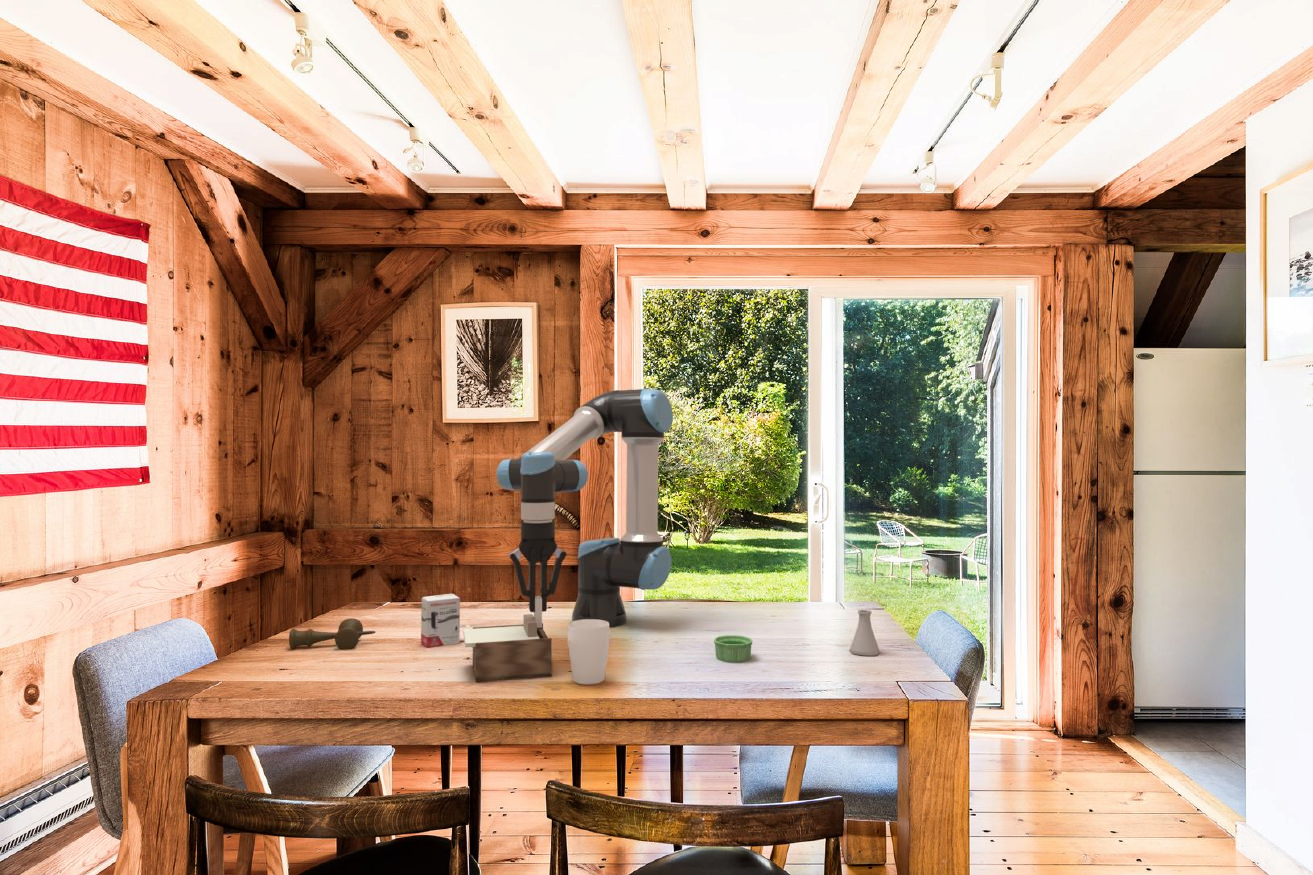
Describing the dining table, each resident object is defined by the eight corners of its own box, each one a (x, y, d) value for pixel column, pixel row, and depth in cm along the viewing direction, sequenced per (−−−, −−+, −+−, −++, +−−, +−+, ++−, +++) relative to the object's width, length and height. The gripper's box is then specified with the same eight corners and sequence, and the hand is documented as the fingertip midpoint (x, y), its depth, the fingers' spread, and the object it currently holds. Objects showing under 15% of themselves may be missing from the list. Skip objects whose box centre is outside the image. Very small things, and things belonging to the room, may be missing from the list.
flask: (881, 650, 196) (881, 609, 196) (879, 658, 190) (879, 615, 190) (850, 647, 199) (850, 607, 199) (847, 655, 192) (847, 613, 192)
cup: (567, 674, 176) (567, 619, 176) (609, 673, 177) (609, 618, 177) (566, 687, 167) (566, 629, 167) (610, 686, 168) (610, 628, 168)
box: (542, 658, 190) (542, 623, 190) (551, 676, 175) (551, 638, 175) (472, 663, 185) (472, 627, 185) (475, 682, 171) (475, 643, 171)
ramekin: (727, 665, 184) (727, 646, 184) (706, 656, 192) (706, 637, 192) (760, 660, 188) (760, 641, 188) (738, 651, 196) (738, 633, 196)
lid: (532, 628, 188) (532, 612, 188) (539, 642, 175) (539, 624, 175) (463, 632, 184) (463, 616, 184) (465, 647, 171) (465, 629, 171)
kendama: (293, 646, 204) (377, 638, 209) (286, 657, 194) (374, 649, 199) (292, 622, 203) (376, 615, 208) (285, 632, 194) (373, 625, 199)
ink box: (426, 648, 199) (426, 600, 199) (420, 644, 203) (420, 596, 203) (460, 643, 204) (460, 596, 204) (453, 639, 208) (453, 593, 208)
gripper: (564, 518, 187) (564, 621, 187) (506, 520, 184) (507, 624, 184) (569, 521, 180) (569, 628, 180) (510, 523, 176) (510, 632, 176)
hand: (537, 626), depth 182 cm, fingers closed
